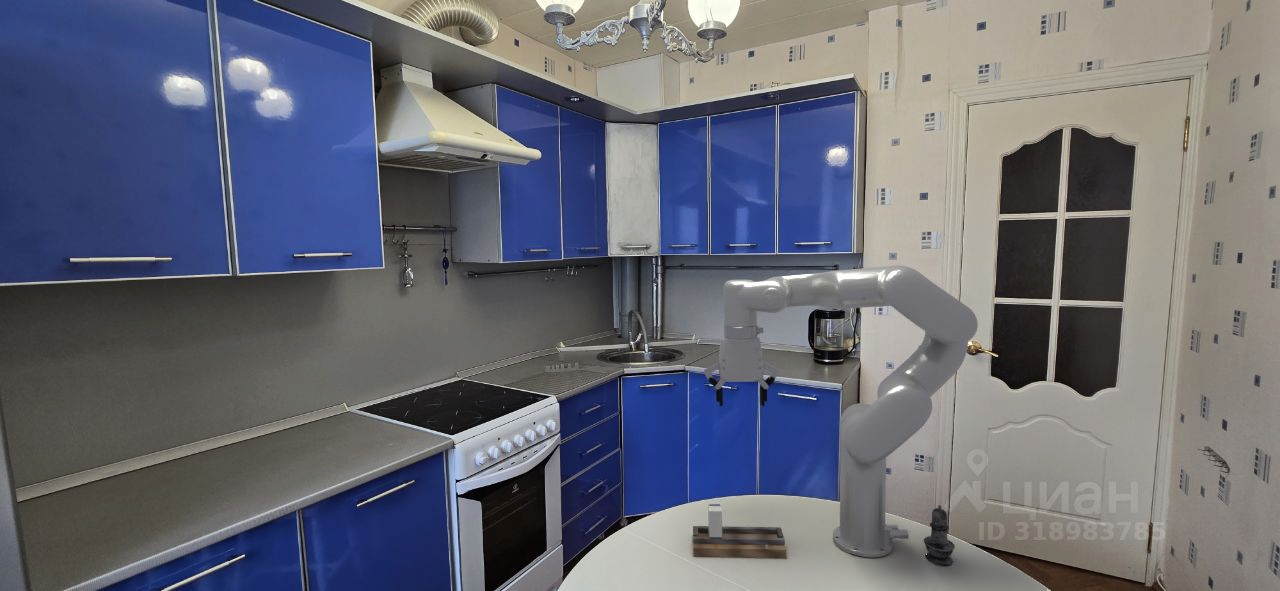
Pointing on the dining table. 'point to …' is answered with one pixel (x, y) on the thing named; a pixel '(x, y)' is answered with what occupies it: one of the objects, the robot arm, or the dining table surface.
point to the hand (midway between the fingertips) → (741, 404)
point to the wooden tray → (740, 542)
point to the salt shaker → (939, 540)
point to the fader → (715, 518)
